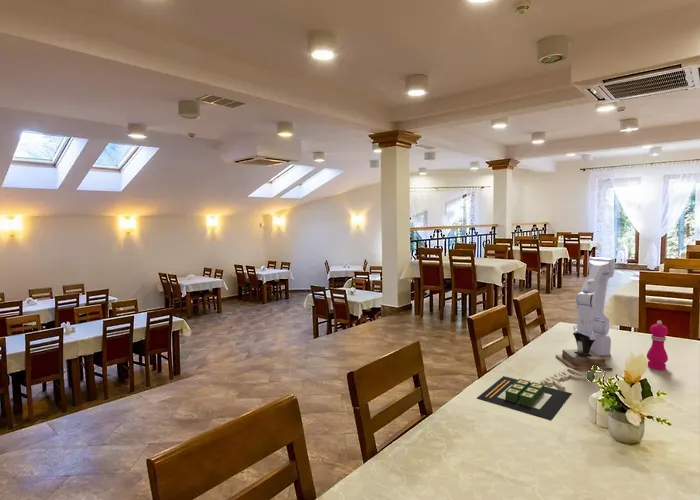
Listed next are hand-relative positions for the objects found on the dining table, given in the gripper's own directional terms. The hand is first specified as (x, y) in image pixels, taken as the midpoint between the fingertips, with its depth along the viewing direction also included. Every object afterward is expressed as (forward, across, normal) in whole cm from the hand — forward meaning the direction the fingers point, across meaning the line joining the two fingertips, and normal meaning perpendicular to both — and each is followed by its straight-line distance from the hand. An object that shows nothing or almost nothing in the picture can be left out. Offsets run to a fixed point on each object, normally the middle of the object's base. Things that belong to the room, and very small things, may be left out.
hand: (583, 351), depth 185 cm
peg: (+3, 0, 0) cm, 3 cm away
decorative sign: (+6, +18, -16) cm, 25 cm away
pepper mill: (+6, +5, +28) cm, 29 cm away
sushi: (+6, +32, -37) cm, 49 cm away
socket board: (+5, 0, 0) cm, 5 cm away
